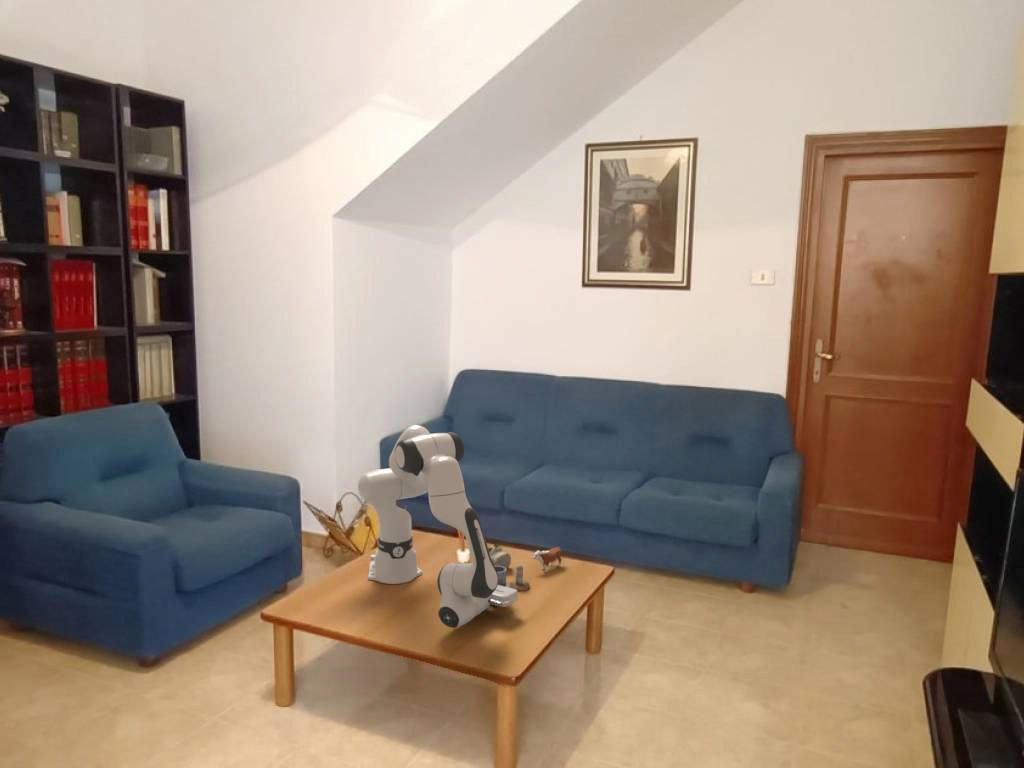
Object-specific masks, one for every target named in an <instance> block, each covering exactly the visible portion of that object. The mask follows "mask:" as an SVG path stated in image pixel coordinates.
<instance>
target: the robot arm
mask: <svg viewBox="0 0 1024 768" xmlns="http://www.w3.org/2000/svg"><path fill="white" fill-rule="evenodd" d="M391 451H392V452H391V454H390V456H389V458H388V466H389V467H388V468H381V469H380V468H379V469H373V470H370V471H367V472H365V473H363V474H362V475H361V476H360V477H359V480H358V483H357V490H358V493H359V496H360V497H361V498H362V500H364V501H365V502H367V503H368V504H370V505H371V506H372V508H373V509H374V511H375V512H376V515H377V518H378V519H377V520H378V534H379V535H378V538H377V548H376V551H375V554H371V555H370V562H369V568H368V569H369V571H368V576H367V578H368V580H369V581H376V582H379V583H382V584H390V585H398V584H404V583H409V582H411V581H413V580H414V579H415V578H417V577H418V576H421V575H422V574H423V570H422V569H421V568H419V567H418V554H417V551H416V550H415V549H414V548H413V545H414V540H413V535H412V516H411V514H410V513H409V511H407V510H406V509H403V508H401V507H399V506H397V504H396V502H397V500H403V499H410V498H416V497H419V496H422V495H424V494H427V493H428V495H427V496H428V503H429V504H428V505H429V508H430V511H431V513H432V515H433V516H434V517H435V519H437V520H438V521H440V522H441V523H443V524H445V525H448V526H450V527H453V528H454V529H456V530H458V531H460V532H461V534H463V536H464V537H465V539H466V541H467V542H466V543H467V545H468V546H467V547H468V549H469V552H470V554H469V555H470V556H471V560H472V563H471V562H468V563H467V562H464V563H463V562H447V563H446V564H445V565H444V566H442V567H441V569H440V571H439V574H438V576H437V588H438V589H437V590H438V592H439V594H440V599H441V600H440V604H439V607H438V609H437V610H438V611H437V614H438V618H439V620H440V622H441V623H442V624H443V625H445V626H446V627H447V628H452V629H456V628H461V627H463V626H464V625H466V624H467V623H469V622H471V620H473V619H474V618H475V617H477V616H479V615H480V614H482V613H483V612H484V611H485V610H487V609H488V608H489V607H490V605H491V604H492V606H497V607H501V608H507V607H509V606H511V605H513V604H515V603H516V602H517V601H518V597H519V596H518V595H519V591H517V590H516V589H513V588H510V583H509V582H506V583H505V584H504V586H501V585H498V575H497V572H496V569H495V567H494V565H493V563H492V560H491V557H490V553H489V550H488V547H489V546H488V542H487V540H486V536H485V532H484V528H483V525H482V522H481V519H480V517H479V514H478V512H477V510H475V509H474V508H473V507H472V506H471V505H470V503H469V500H468V498H467V495H466V489H465V483H464V482H465V481H464V478H463V473H462V470H461V466H460V465H459V463H461V462H462V461H463V459H464V456H465V452H466V451H465V443H464V440H463V438H462V437H461V436H460V435H459V434H458V433H455V432H452V431H445V432H435V433H430V431H429V430H428V429H427V428H426V427H424V426H422V425H419V424H418V425H417V424H414V425H410V426H408V427H407V428H406V429H405V430H404V431H403V432H401V435H400V436H399V438H397V441H396V443H395V445H394V447H393V449H392V450H391Z"/></svg>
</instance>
